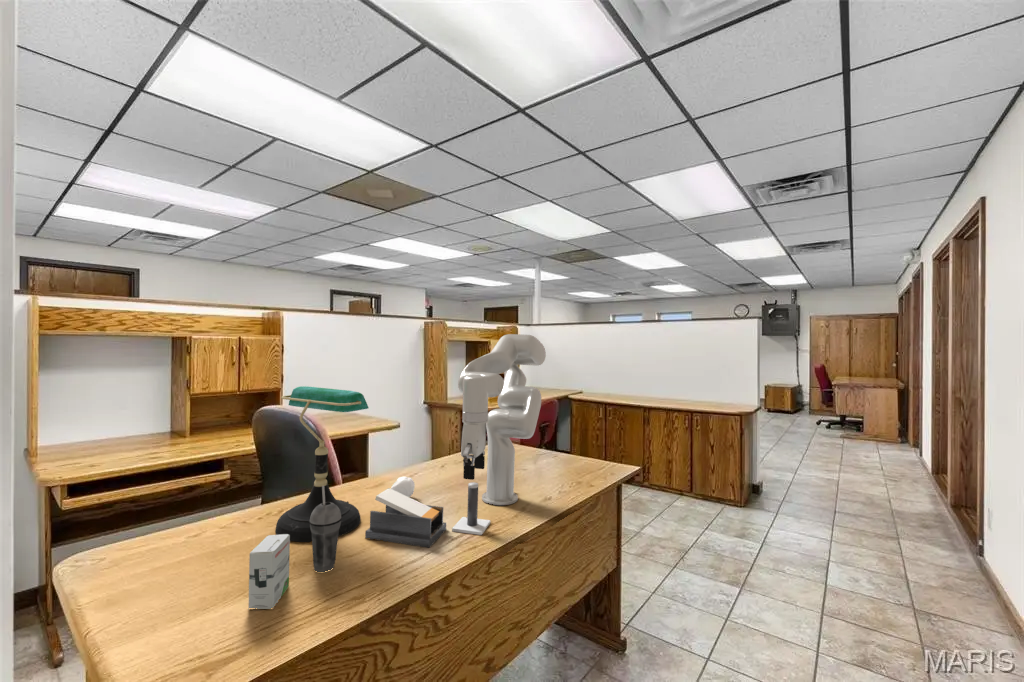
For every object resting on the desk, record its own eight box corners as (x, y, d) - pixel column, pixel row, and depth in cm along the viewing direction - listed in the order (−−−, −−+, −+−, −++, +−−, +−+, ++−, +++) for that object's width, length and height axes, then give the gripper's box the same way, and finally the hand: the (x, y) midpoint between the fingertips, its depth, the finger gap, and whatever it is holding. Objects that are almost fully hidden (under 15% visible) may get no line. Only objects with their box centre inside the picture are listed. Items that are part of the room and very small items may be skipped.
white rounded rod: (469, 521, 135) (470, 481, 135) (478, 522, 134) (479, 482, 134) (465, 525, 132) (466, 485, 132) (475, 526, 131) (476, 486, 131)
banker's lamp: (381, 519, 136) (385, 388, 136) (320, 551, 116) (325, 396, 116) (318, 504, 148) (322, 382, 148) (252, 530, 127) (256, 388, 127)
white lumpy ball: (403, 493, 160) (403, 471, 160) (419, 497, 156) (419, 475, 156) (386, 499, 153) (387, 477, 153) (402, 504, 149) (403, 481, 149)
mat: (462, 519, 139) (462, 516, 139) (490, 522, 137) (490, 520, 137) (451, 531, 130) (452, 528, 130) (481, 535, 128) (481, 532, 128)
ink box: (266, 587, 98) (268, 533, 98) (289, 586, 99) (291, 533, 99) (246, 611, 90) (248, 552, 90) (272, 610, 90) (273, 551, 90)
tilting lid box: (365, 538, 124) (366, 512, 124) (387, 521, 135) (387, 498, 135) (429, 547, 119) (429, 521, 119) (446, 529, 131) (446, 505, 131)
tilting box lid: (375, 499, 126) (376, 495, 126) (387, 491, 133) (388, 487, 132) (428, 525, 122) (429, 520, 122) (438, 515, 129) (439, 511, 129)
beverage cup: (347, 563, 109) (349, 482, 109) (325, 578, 103) (328, 491, 103) (323, 558, 112) (325, 478, 112) (300, 572, 105) (303, 487, 105)
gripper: (472, 410, 143) (471, 463, 143) (452, 422, 126) (452, 482, 126) (495, 412, 141) (494, 466, 142) (478, 424, 124) (477, 484, 125)
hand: (474, 473), depth 134 cm, fingers open, 9 cm apart
